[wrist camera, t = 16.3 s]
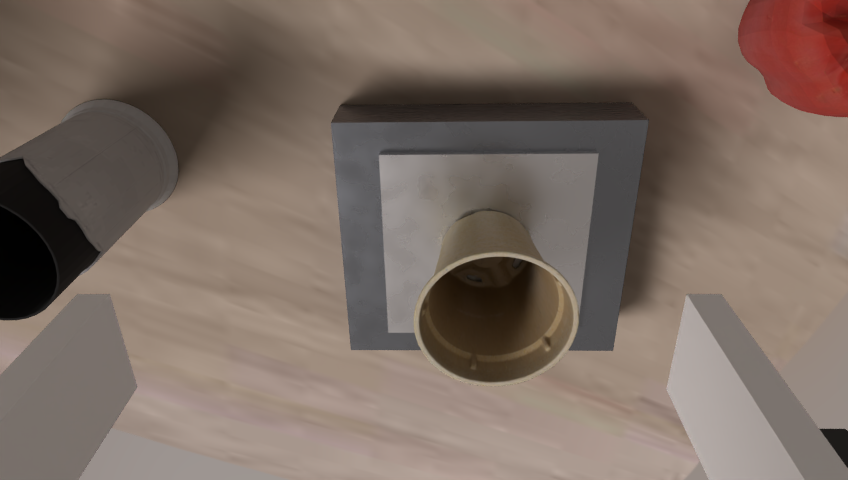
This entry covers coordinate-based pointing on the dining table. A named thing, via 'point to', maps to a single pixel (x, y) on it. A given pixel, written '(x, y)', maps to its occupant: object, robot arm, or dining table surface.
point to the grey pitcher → (76, 198)
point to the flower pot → (494, 305)
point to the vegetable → (800, 51)
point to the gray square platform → (484, 201)
